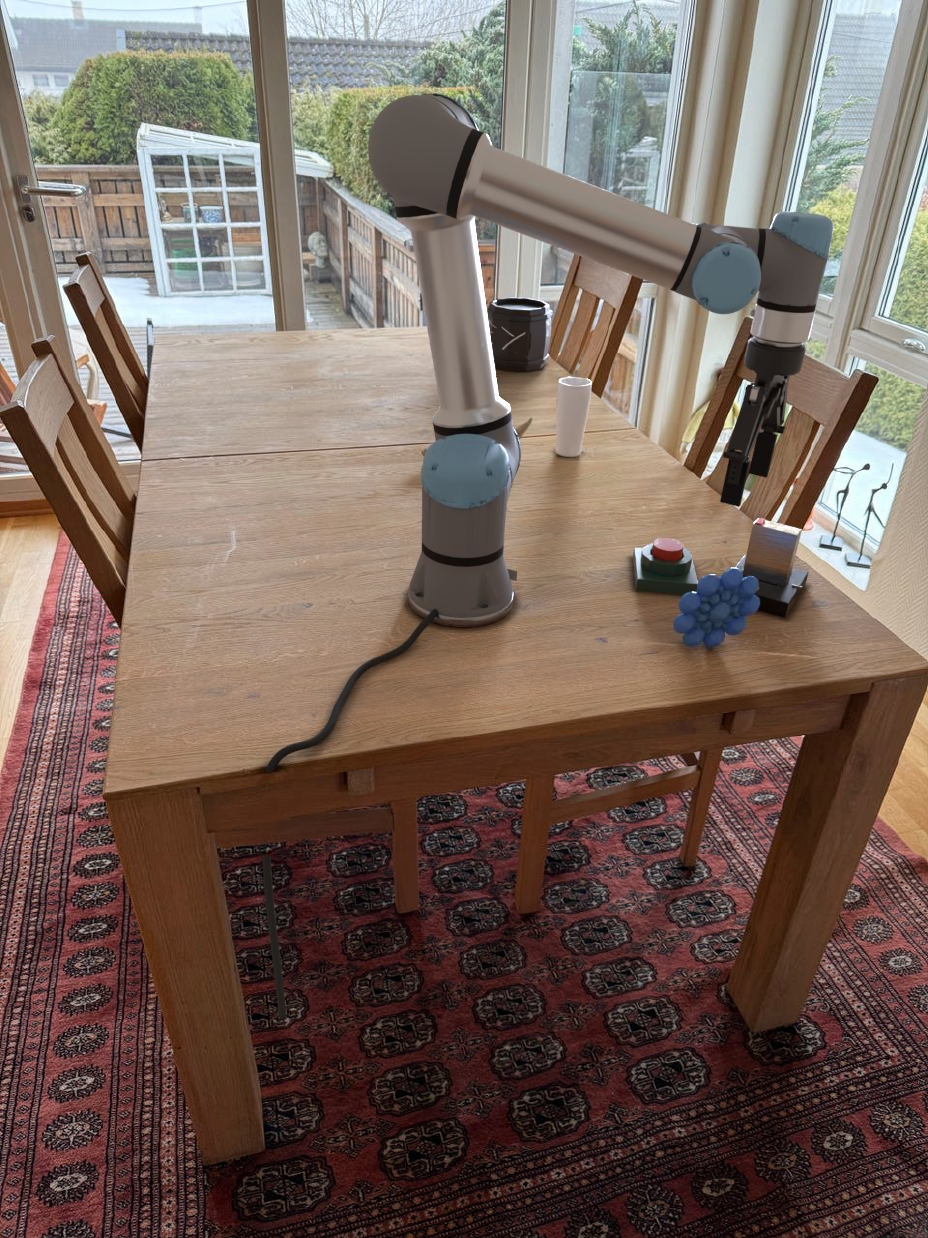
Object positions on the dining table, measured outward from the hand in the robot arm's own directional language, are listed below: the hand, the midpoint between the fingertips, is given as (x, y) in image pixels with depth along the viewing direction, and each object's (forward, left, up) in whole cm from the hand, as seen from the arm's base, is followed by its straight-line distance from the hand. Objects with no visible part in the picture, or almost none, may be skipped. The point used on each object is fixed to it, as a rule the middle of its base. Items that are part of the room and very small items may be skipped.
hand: (744, 488), depth 132 cm
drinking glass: (+49, +34, -16) cm, 61 cm away
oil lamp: (+35, +50, -16) cm, 63 cm away
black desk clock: (+112, +61, -16) cm, 128 cm away
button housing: (0, +9, -16) cm, 19 cm away
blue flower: (-18, +2, -16) cm, 24 cm away
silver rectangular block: (0, -6, -14) cm, 15 cm away
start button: (0, +9, -12) cm, 16 cm away
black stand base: (0, -6, -16) cm, 17 cm away
